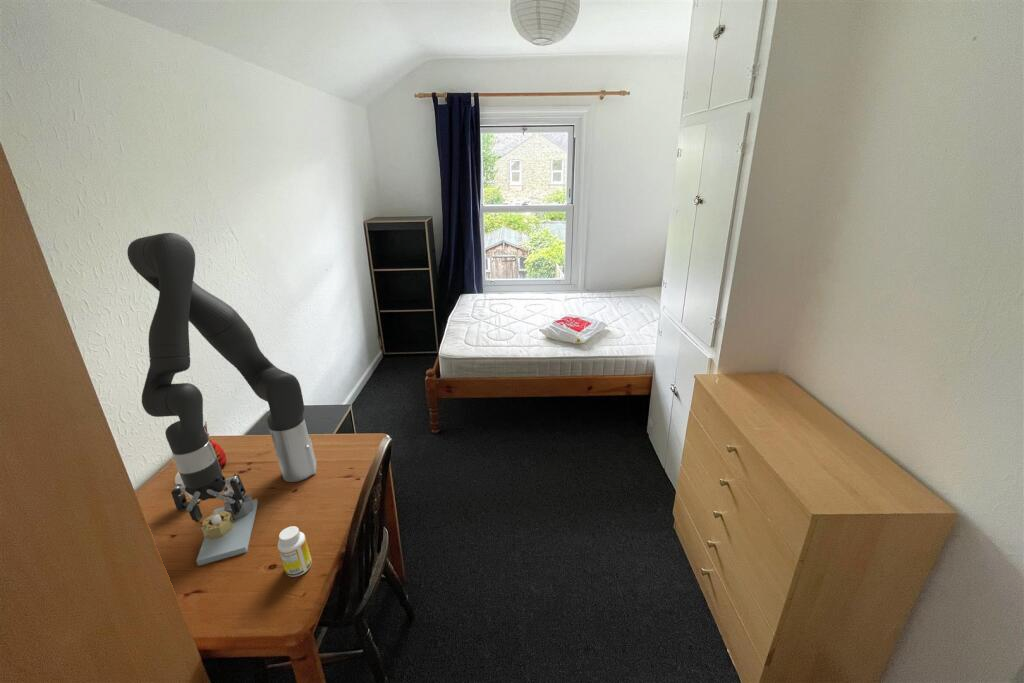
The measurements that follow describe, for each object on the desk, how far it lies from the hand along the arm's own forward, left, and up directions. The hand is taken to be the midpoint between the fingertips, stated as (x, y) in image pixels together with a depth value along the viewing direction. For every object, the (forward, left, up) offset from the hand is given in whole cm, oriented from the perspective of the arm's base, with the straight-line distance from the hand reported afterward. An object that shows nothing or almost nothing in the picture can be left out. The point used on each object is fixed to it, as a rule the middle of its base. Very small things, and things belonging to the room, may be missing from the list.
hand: (218, 516), depth 109 cm
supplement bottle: (-18, +19, -6) cm, 27 cm away
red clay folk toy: (+9, -33, -6) cm, 35 cm away
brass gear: (+1, 0, -4) cm, 4 cm away
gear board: (-1, 0, -6) cm, 6 cm away
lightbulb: (+10, -17, -6) cm, 21 cm away
